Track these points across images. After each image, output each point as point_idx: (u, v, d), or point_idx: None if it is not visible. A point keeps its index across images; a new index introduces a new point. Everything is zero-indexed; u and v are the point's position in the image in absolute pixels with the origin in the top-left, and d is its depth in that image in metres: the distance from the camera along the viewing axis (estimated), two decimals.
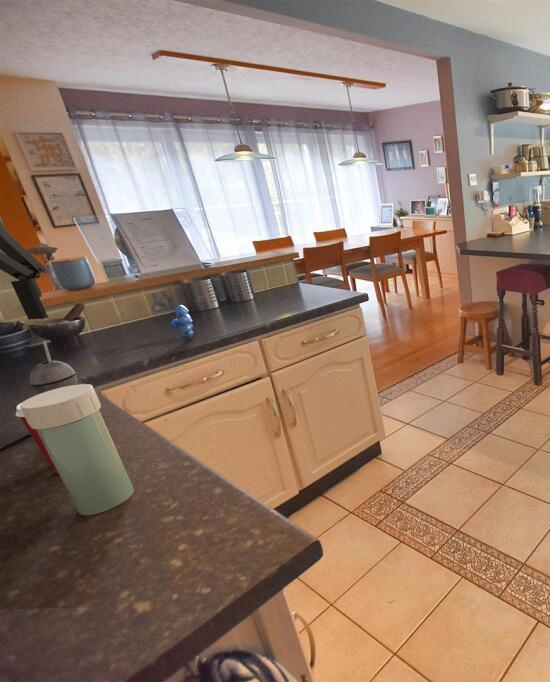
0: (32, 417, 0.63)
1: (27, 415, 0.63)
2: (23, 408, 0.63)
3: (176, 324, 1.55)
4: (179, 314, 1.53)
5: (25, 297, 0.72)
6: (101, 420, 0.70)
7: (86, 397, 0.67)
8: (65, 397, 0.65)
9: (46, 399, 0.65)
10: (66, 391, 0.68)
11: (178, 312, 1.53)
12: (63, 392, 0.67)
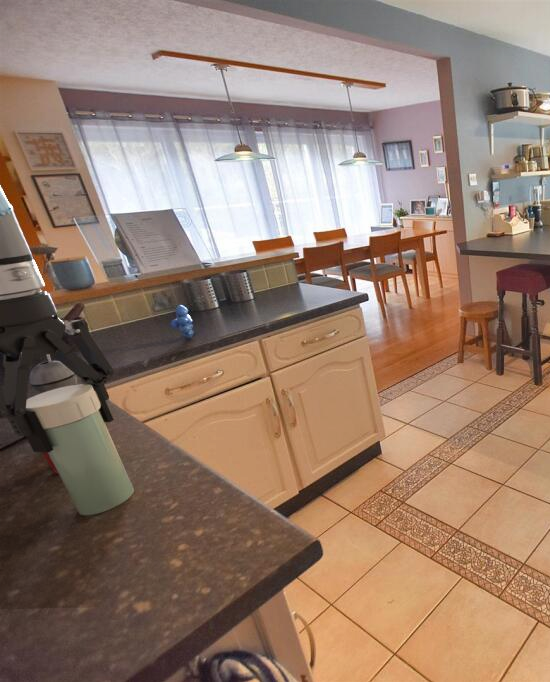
0: None
1: None
2: None
3: (176, 324, 1.55)
4: (179, 314, 1.53)
5: None
6: (101, 420, 0.70)
7: (86, 397, 0.67)
8: (65, 397, 0.65)
9: (46, 399, 0.65)
10: (66, 391, 0.68)
11: (178, 312, 1.53)
12: (63, 392, 0.67)
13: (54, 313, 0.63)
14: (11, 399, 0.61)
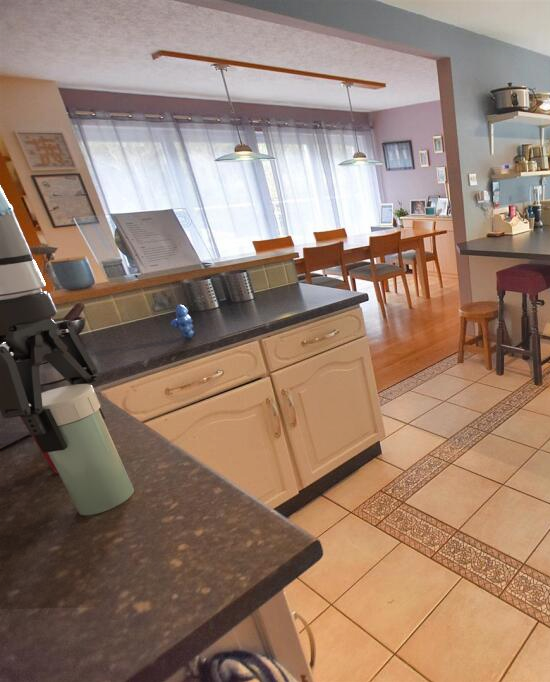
0: None
1: None
2: (80, 384, 0.70)
3: (176, 324, 1.55)
4: (179, 314, 1.53)
5: None
6: (101, 420, 0.70)
7: None
8: (42, 396, 0.66)
9: (65, 391, 0.68)
10: (52, 398, 0.65)
11: (178, 312, 1.53)
12: (54, 397, 0.65)
13: None
14: None
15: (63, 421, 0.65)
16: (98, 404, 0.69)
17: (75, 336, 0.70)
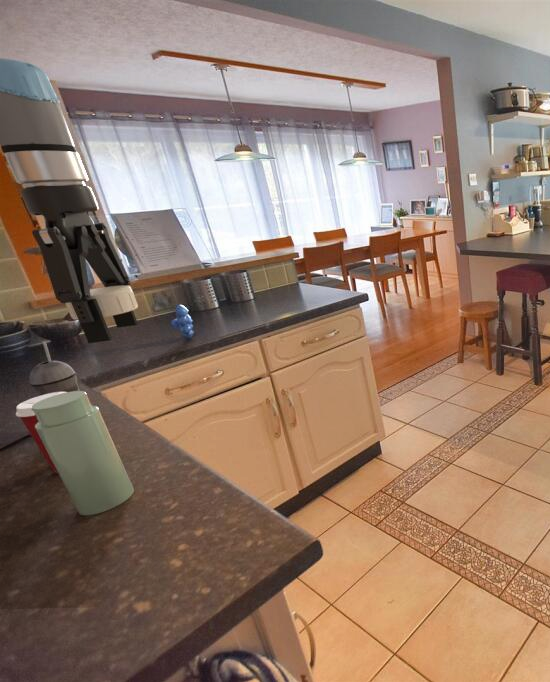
0: None
1: None
2: None
3: (176, 324, 1.55)
4: (179, 314, 1.53)
5: None
6: (101, 420, 0.70)
7: None
8: None
9: (103, 289, 0.70)
10: (94, 292, 0.67)
11: (178, 312, 1.53)
12: (96, 292, 0.68)
13: (29, 212, 0.61)
14: None
15: (108, 313, 0.67)
16: (136, 303, 0.72)
17: (109, 239, 0.72)
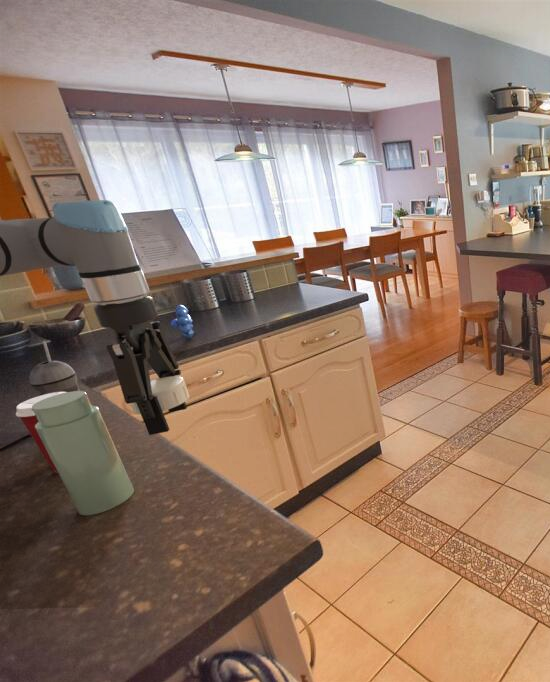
0: None
1: None
2: (168, 377, 0.80)
3: (176, 324, 1.55)
4: (179, 314, 1.53)
5: None
6: (101, 420, 0.70)
7: None
8: None
9: (160, 382, 0.78)
10: (154, 388, 0.75)
11: (178, 312, 1.53)
12: (155, 387, 0.76)
13: (101, 325, 0.70)
14: None
15: (166, 407, 0.75)
16: (188, 393, 0.80)
17: (163, 335, 0.80)
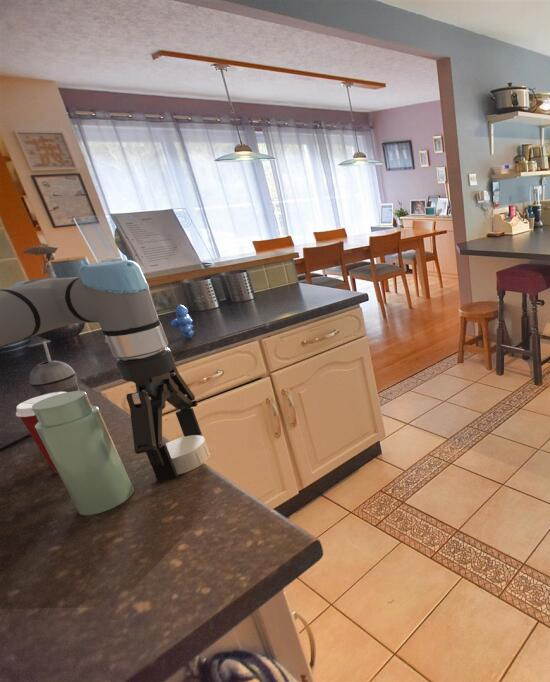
0: None
1: None
2: (190, 436, 0.85)
3: (176, 324, 1.55)
4: (179, 314, 1.53)
5: None
6: (101, 420, 0.70)
7: None
8: None
9: (182, 442, 0.82)
10: (177, 450, 0.80)
11: (178, 312, 1.53)
12: (179, 449, 0.80)
13: (122, 378, 0.73)
14: None
15: (190, 468, 0.79)
16: (209, 451, 0.84)
17: (179, 375, 0.83)
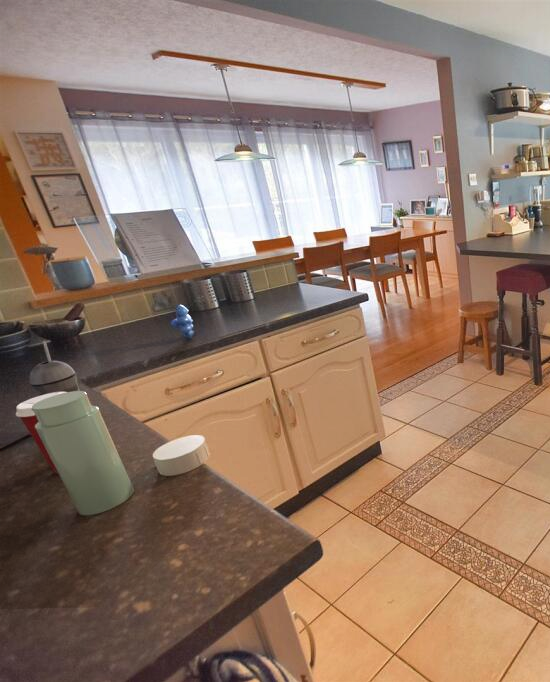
0: None
1: None
2: (190, 436, 0.85)
3: (176, 324, 1.55)
4: (179, 314, 1.53)
5: None
6: (101, 420, 0.70)
7: None
8: (165, 448, 0.81)
9: (182, 442, 0.82)
10: (177, 450, 0.80)
11: (178, 312, 1.53)
12: (179, 449, 0.80)
13: None
14: None
15: (190, 468, 0.79)
16: (209, 451, 0.84)
17: None
